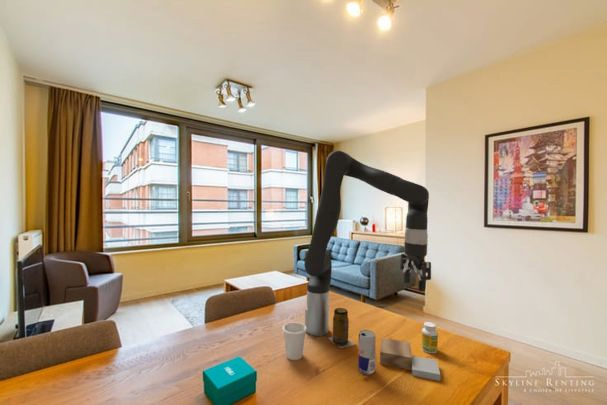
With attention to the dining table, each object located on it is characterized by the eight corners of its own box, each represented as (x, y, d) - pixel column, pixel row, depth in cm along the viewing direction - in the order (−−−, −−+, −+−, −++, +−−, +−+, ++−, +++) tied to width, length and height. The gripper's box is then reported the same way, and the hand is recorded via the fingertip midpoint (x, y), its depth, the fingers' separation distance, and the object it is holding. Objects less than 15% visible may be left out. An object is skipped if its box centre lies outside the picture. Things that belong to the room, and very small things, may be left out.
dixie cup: (278, 359, 94) (278, 330, 94) (288, 347, 102) (288, 320, 102) (301, 364, 92) (301, 335, 91) (309, 351, 99) (309, 324, 99)
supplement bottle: (426, 344, 105) (427, 319, 105) (440, 351, 101) (441, 325, 101) (418, 348, 102) (419, 323, 102) (432, 355, 98) (432, 329, 98)
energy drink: (356, 365, 91) (356, 329, 91) (371, 364, 92) (372, 329, 92) (360, 375, 86) (361, 337, 86) (377, 375, 87) (378, 337, 86)
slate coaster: (412, 375, 87) (412, 369, 87) (410, 361, 94) (410, 355, 94) (440, 381, 84) (440, 374, 84) (436, 365, 92) (436, 360, 92)
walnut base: (380, 363, 93) (380, 352, 92) (381, 348, 102) (381, 337, 102) (411, 369, 89) (411, 357, 89) (409, 353, 99) (410, 342, 99)
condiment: (343, 334, 112) (343, 305, 112) (355, 344, 105) (356, 313, 104) (327, 338, 109) (328, 308, 109) (339, 349, 101) (340, 317, 101)
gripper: (395, 238, 103) (393, 280, 104) (419, 245, 89) (417, 294, 90) (412, 238, 105) (411, 280, 105) (439, 244, 91) (437, 293, 91)
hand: (413, 286), depth 97 cm, fingers open, 8 cm apart
